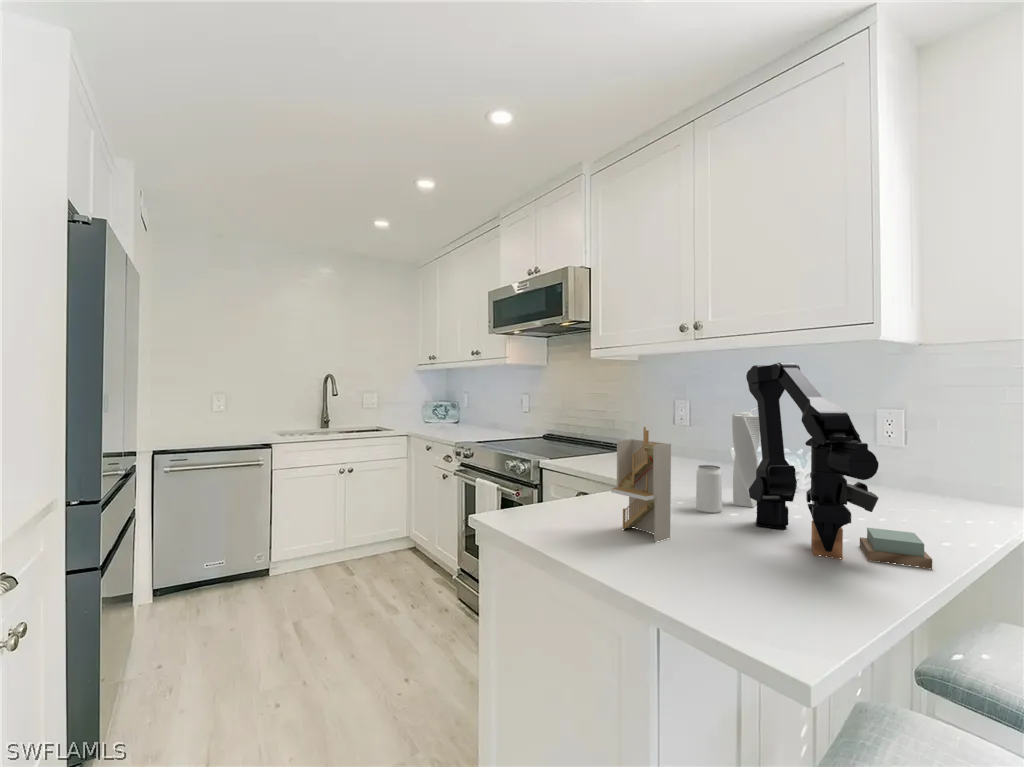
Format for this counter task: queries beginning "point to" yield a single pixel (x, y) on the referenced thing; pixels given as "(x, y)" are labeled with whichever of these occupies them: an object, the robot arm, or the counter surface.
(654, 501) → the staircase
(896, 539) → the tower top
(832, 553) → the block
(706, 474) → the can
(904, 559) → the tower base
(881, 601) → the counter surface
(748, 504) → the skyscraper
